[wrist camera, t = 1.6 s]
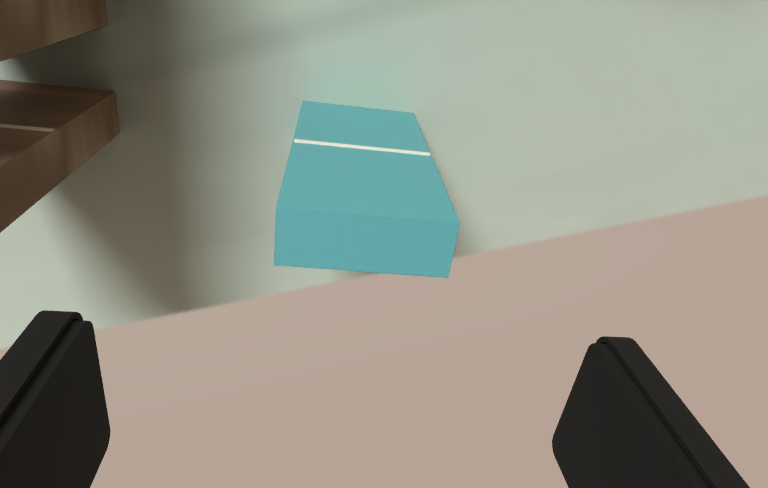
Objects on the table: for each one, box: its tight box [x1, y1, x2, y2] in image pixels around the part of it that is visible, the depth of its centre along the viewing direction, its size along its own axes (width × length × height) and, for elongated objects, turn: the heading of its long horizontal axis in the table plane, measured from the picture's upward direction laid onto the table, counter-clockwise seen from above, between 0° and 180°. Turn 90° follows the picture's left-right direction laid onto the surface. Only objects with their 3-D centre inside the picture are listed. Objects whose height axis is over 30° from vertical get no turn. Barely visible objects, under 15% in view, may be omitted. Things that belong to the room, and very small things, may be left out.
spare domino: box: [274, 101, 460, 278], centre depth 20 cm, size 2×5×11 cm, turn 83°
